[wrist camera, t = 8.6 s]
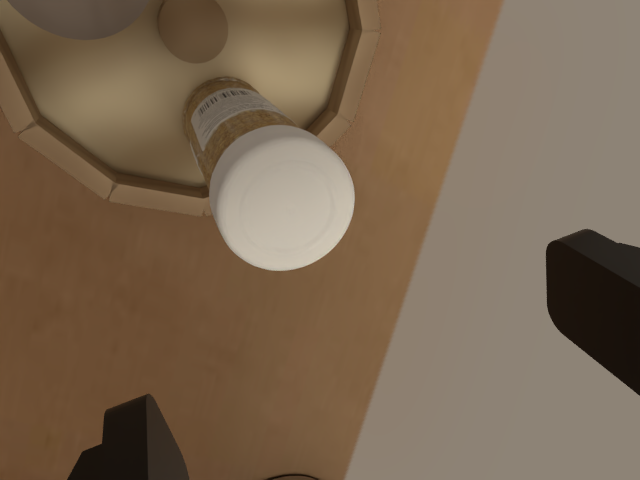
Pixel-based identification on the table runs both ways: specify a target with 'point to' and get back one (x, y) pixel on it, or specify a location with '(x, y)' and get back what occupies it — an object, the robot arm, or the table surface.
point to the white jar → (81, 16)
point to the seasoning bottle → (266, 177)
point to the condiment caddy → (178, 86)
